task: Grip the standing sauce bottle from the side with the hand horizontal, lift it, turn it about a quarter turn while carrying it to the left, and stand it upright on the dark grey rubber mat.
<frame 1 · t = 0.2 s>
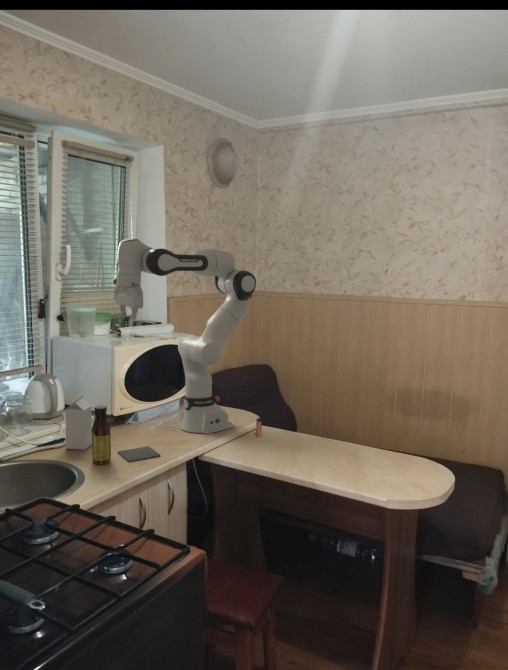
hand: (128, 317, 209), 48 cm above the worktop, tool pointing down, fingers open, 8 cm apart
sauce bottle: (101, 462, 189), on the worktop
milk carton: (79, 447, 205), on the worktop
mat: (138, 454, 198), on the worktop
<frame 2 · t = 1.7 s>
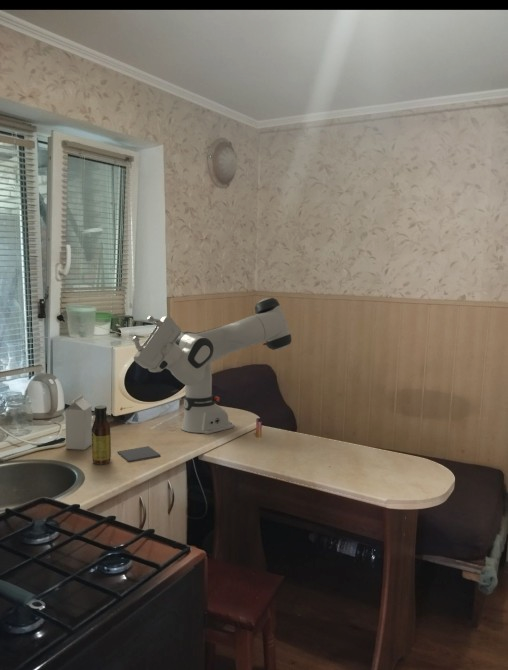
hand: (141, 327, 188), 47 cm above the worktop, tool pointing upward, fingers open, 8 cm apart
nothing on the worktop moved.
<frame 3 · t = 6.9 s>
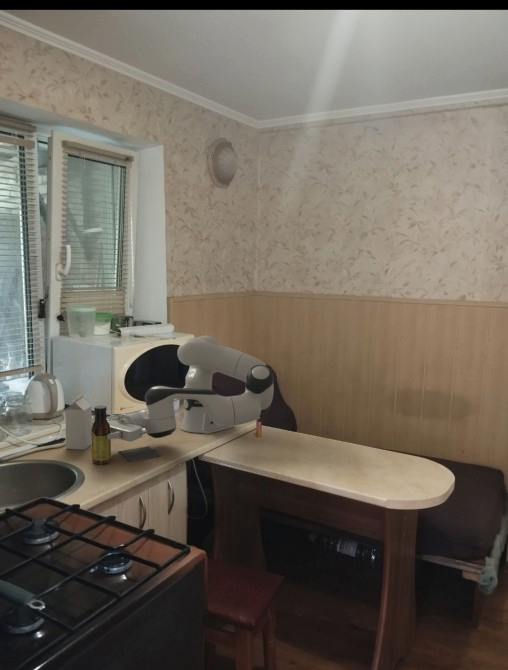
hand: (99, 434, 187), 10 cm above the worktop, tool horizontal, fingers closed on sauce bottle, 6 cm apart
sauce bottle: (101, 462, 189), on the worktop, touching gripper
everything else where it was.
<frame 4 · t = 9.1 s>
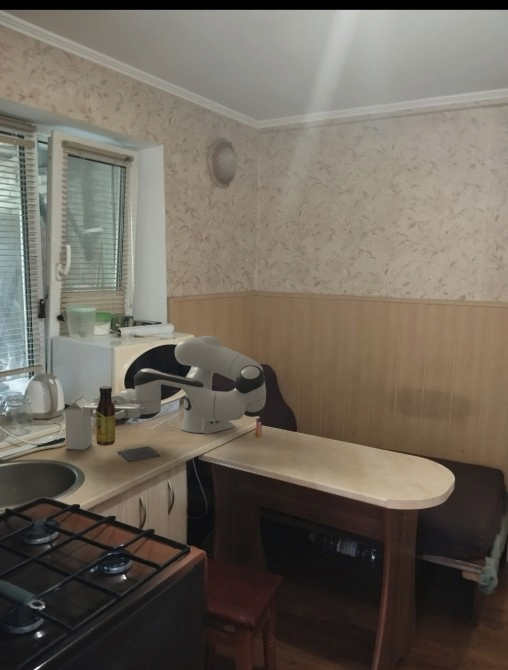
hand: (105, 415, 185), 17 cm above the worktop, tool horizontal, fingers closed on sauce bottle, 6 cm apart
sauce bottle: (105, 444, 187), point 7 cm above the worktop, touching gripper
everything else where it was.
when the fingers open (12 cm above the worktop, at t = 11.5 s): sauce bottle drops 1 cm, resting on mat.
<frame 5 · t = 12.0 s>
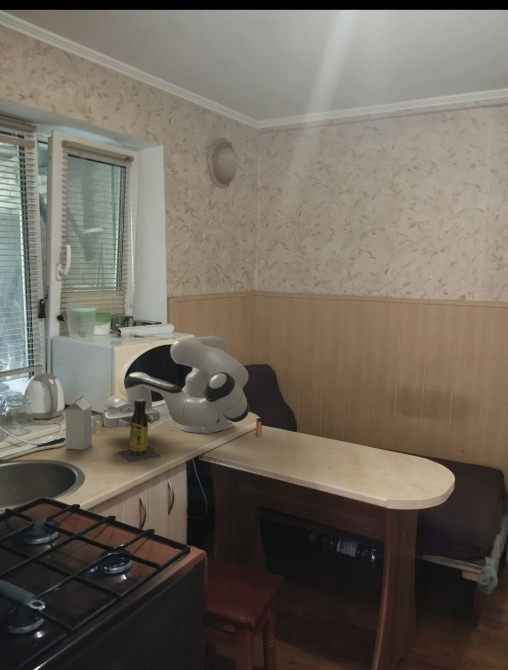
hand: (139, 423, 195), 12 cm above the worktop, tool horizontal, fingers open, 8 cm apart
sauce bottle: (138, 453, 197), resting on mat
everything else where it was.
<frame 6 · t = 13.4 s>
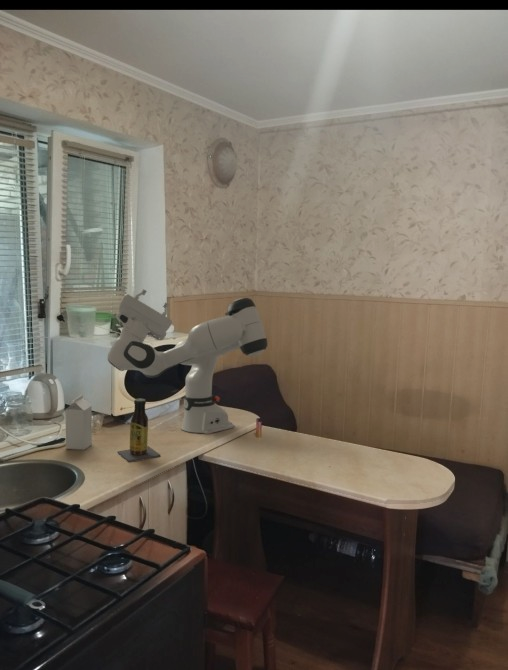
hand: (156, 296, 204), 56 cm above the worktop, tool pointing upward, fingers open, 8 cm apart
nothing on the worktop moved.
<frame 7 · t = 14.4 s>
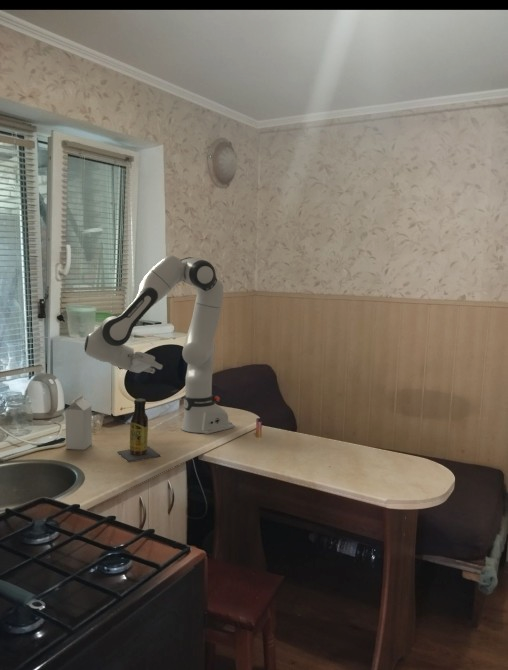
hand: (158, 369, 217), 27 cm above the worktop, tool tilted 70°, fingers open, 8 cm apart
nothing on the worktop moved.
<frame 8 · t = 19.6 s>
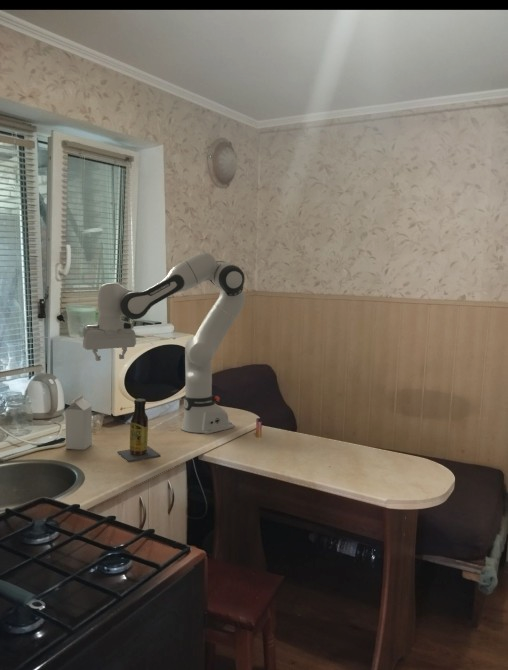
hand: (109, 359, 213), 31 cm above the worktop, tool pointing down, fingers open, 8 cm apart
nothing on the worktop moved.
at the end: sauce bottle inside the target area on the mat (0.1 cm from its centre), point 0.4 cm above the mat's base; sauce bottle tilted 0°; the gripper is holding nothing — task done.
